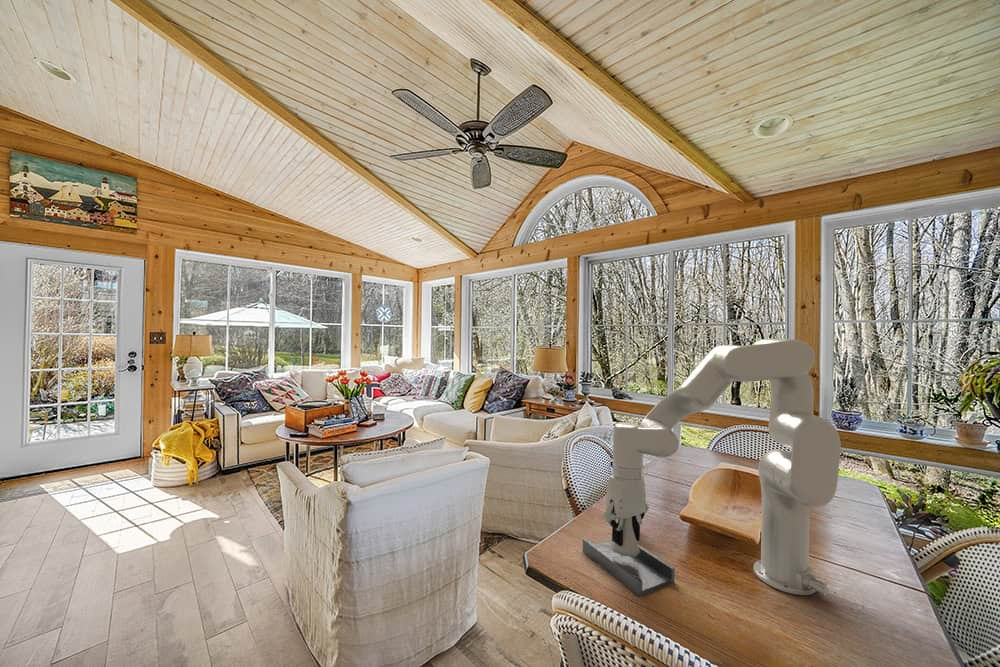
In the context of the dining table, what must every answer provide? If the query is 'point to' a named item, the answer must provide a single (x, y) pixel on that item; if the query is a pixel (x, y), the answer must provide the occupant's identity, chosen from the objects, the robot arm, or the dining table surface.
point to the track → (632, 567)
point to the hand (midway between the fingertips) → (625, 540)
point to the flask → (627, 540)
